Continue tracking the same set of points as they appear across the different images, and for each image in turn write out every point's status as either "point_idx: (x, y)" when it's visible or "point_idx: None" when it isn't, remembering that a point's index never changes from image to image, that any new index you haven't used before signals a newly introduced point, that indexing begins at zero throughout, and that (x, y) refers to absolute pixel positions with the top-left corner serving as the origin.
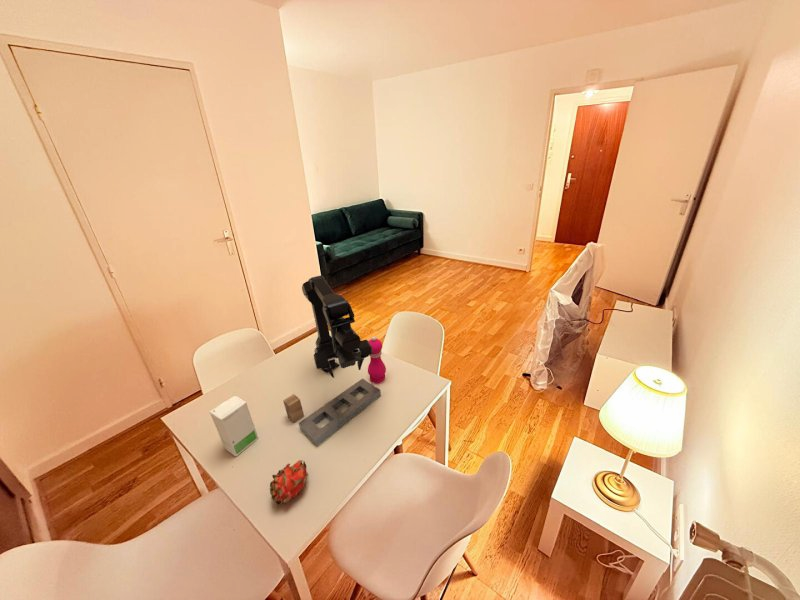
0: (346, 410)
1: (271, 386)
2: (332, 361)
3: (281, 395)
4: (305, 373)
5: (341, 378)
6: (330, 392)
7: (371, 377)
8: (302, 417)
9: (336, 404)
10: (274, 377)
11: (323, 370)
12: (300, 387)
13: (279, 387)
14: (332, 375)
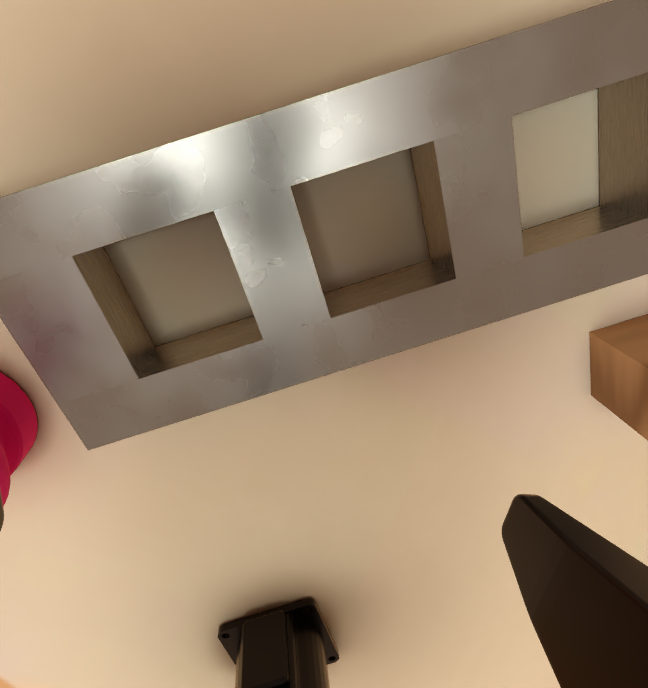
0: (370, 145)
1: None
2: (263, 682)
3: None
4: (420, 633)
5: (244, 526)
6: (360, 444)
7: (5, 434)
8: (602, 328)
9: (399, 288)
10: None
11: (324, 623)
12: (490, 553)
13: None
14: (588, 540)
